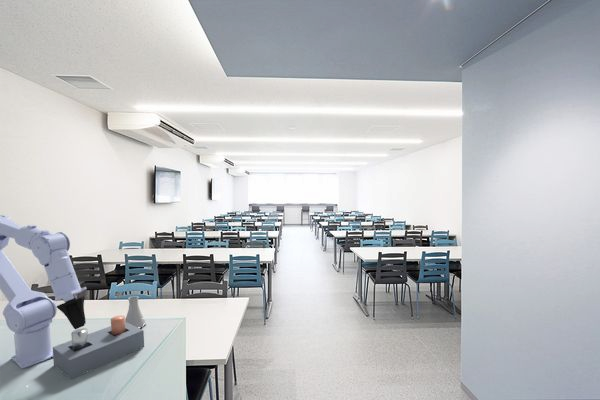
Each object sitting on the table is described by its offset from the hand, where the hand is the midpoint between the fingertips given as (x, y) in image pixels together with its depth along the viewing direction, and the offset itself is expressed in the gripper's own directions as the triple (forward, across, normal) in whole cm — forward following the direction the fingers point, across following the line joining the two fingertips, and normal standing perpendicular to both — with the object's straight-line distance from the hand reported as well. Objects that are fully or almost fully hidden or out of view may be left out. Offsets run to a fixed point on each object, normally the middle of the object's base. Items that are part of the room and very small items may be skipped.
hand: (80, 326), depth 86 cm
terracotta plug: (+7, +8, -7) cm, 13 cm away
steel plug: (+5, +5, +2) cm, 7 cm away
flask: (+8, +22, -12) cm, 27 cm away
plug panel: (+10, +8, -2) cm, 13 cm away
